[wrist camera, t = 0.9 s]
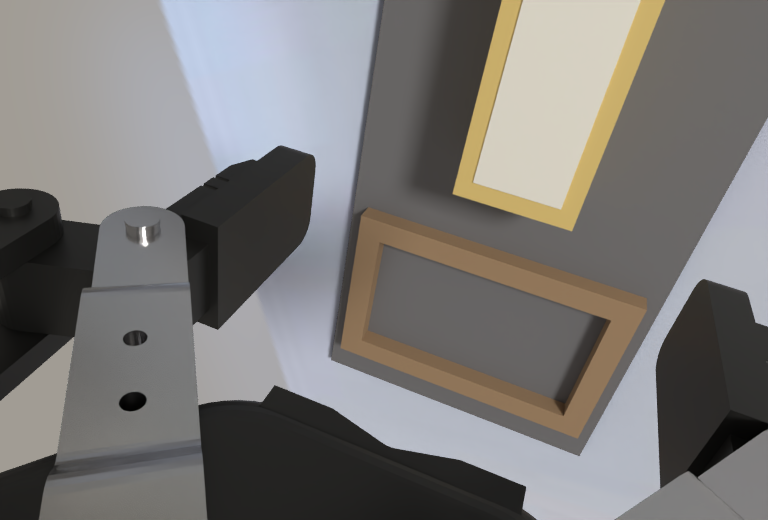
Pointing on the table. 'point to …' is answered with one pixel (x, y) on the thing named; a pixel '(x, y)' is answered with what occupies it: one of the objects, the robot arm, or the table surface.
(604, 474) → the table surface
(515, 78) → the card box
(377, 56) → the mat
